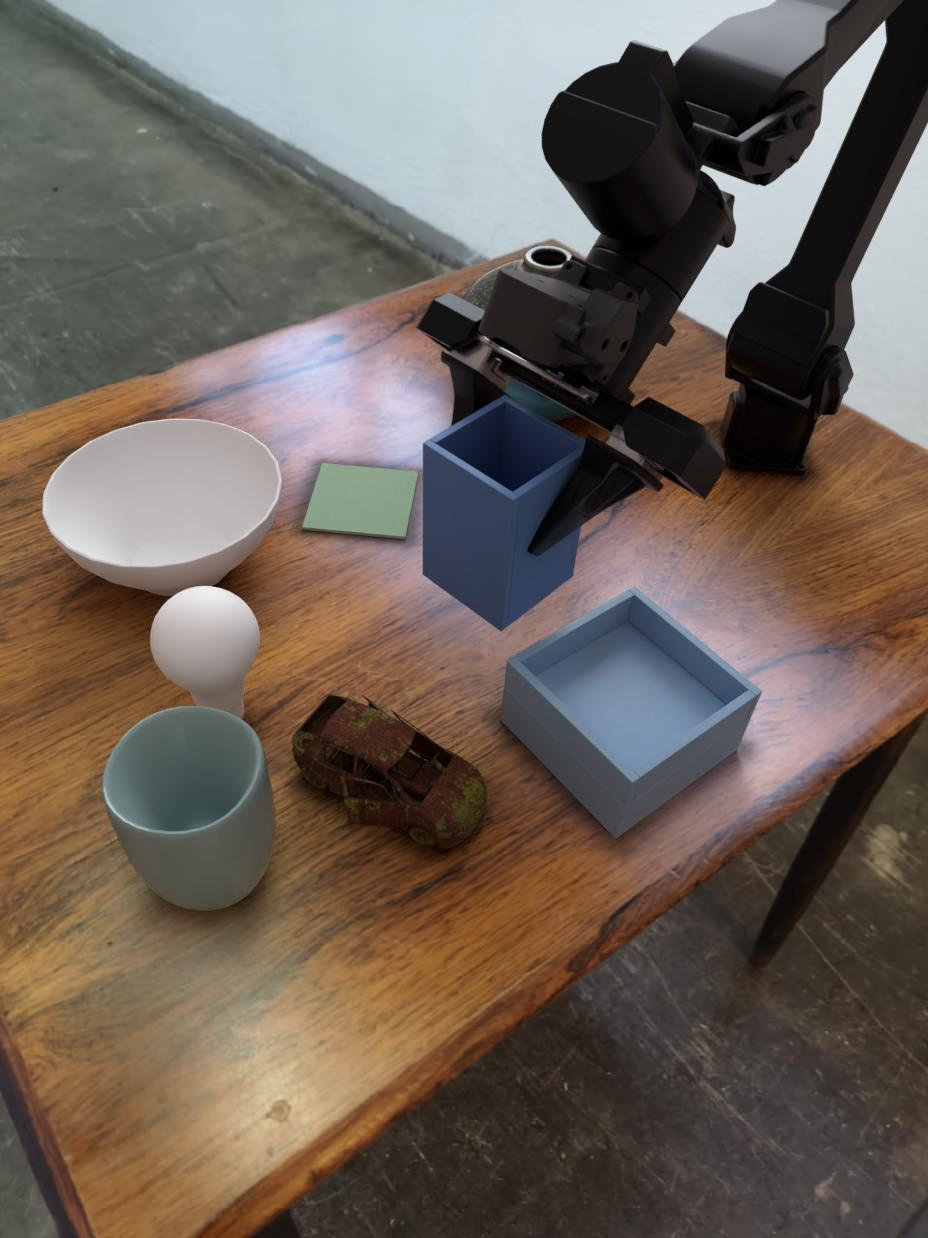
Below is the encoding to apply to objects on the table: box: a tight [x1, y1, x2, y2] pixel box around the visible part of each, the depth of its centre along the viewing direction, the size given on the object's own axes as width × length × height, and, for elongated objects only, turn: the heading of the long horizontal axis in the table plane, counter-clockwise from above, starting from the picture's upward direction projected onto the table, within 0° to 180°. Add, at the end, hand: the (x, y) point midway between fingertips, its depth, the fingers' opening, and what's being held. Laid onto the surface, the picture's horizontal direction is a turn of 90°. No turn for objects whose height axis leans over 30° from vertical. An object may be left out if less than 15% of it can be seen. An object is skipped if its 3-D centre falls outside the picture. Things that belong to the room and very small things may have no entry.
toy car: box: [291, 694, 488, 850], centre depth 56 cm, size 12×7×5 cm, turn 60°
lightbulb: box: [149, 586, 261, 720], centre depth 57 cm, size 6×6×11 cm
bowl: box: [41, 418, 283, 597], centre depth 68 cm, size 16×16×7 cm
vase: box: [461, 245, 598, 422], centre depth 82 cm, size 15×15×13 cm
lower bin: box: [500, 585, 763, 839], centre depth 59 cm, size 11×11×6 cm
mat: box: [301, 462, 419, 540], centre depth 76 cm, size 8×8×1 cm
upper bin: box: [422, 395, 586, 632], centre depth 55 cm, size 7×7×10 cm
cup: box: [101, 705, 277, 912], centre depth 50 cm, size 8×8×10 cm
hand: (486, 523), depth 54 cm, fingers closed on upper bin, 6 cm apart
